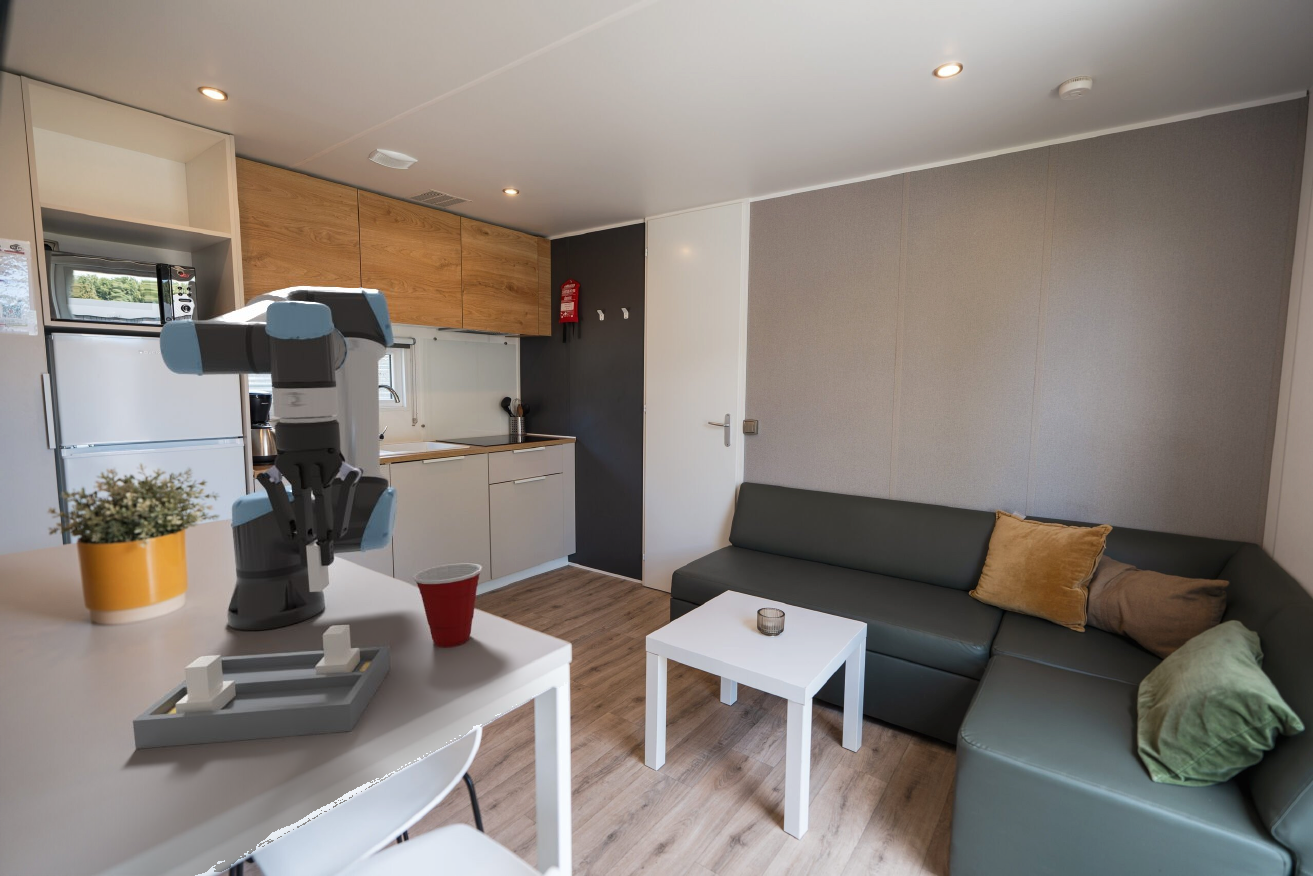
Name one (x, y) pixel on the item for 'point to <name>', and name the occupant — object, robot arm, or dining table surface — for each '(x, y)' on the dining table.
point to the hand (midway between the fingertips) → (319, 587)
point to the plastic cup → (449, 601)
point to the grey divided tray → (269, 701)
